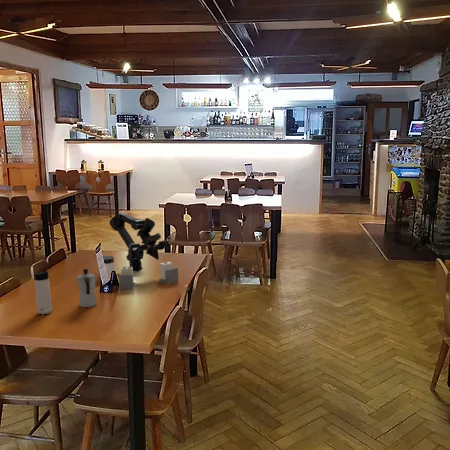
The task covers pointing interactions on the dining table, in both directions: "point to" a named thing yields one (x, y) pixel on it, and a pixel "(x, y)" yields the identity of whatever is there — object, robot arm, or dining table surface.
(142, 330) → the dining table surface
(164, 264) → the plunger
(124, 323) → the dining table surface
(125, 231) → the robot arm
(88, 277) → the coffee maker
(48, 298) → the travel mug
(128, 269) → the block with two buttons
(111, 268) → the jar
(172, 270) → the housing
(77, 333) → the dining table surface
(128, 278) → the housing
